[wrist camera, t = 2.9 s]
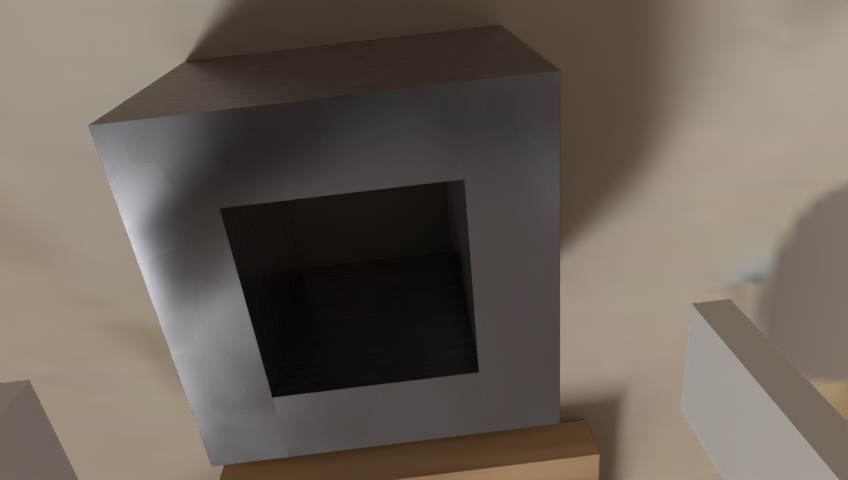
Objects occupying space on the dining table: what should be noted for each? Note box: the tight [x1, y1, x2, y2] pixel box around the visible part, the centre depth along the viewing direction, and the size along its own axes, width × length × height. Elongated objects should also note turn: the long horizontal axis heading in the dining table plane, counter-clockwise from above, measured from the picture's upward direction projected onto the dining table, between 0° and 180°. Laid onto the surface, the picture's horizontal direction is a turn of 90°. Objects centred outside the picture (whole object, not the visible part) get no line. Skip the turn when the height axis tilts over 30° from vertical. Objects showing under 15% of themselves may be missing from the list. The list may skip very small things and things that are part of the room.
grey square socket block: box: [88, 25, 560, 466], centre depth 18 cm, size 10×10×7 cm
